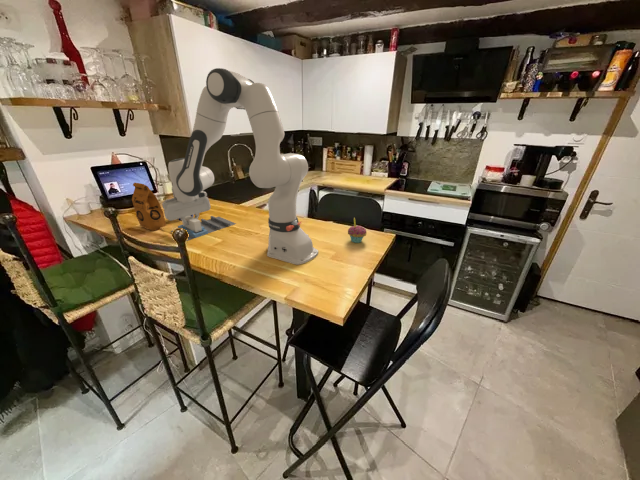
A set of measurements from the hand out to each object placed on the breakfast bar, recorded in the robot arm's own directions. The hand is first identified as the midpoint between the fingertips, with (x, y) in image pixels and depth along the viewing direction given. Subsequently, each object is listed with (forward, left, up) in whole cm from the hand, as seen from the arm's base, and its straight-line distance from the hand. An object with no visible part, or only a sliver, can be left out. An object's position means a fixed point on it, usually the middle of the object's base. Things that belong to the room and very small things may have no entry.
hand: (191, 223), depth 124 cm
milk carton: (+20, -7, -5) cm, 22 cm away
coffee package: (+22, +9, -5) cm, 24 cm away
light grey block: (0, 0, -2) cm, 2 cm away
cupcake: (-65, -44, -5) cm, 79 cm away
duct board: (0, -6, -5) cm, 8 cm away
